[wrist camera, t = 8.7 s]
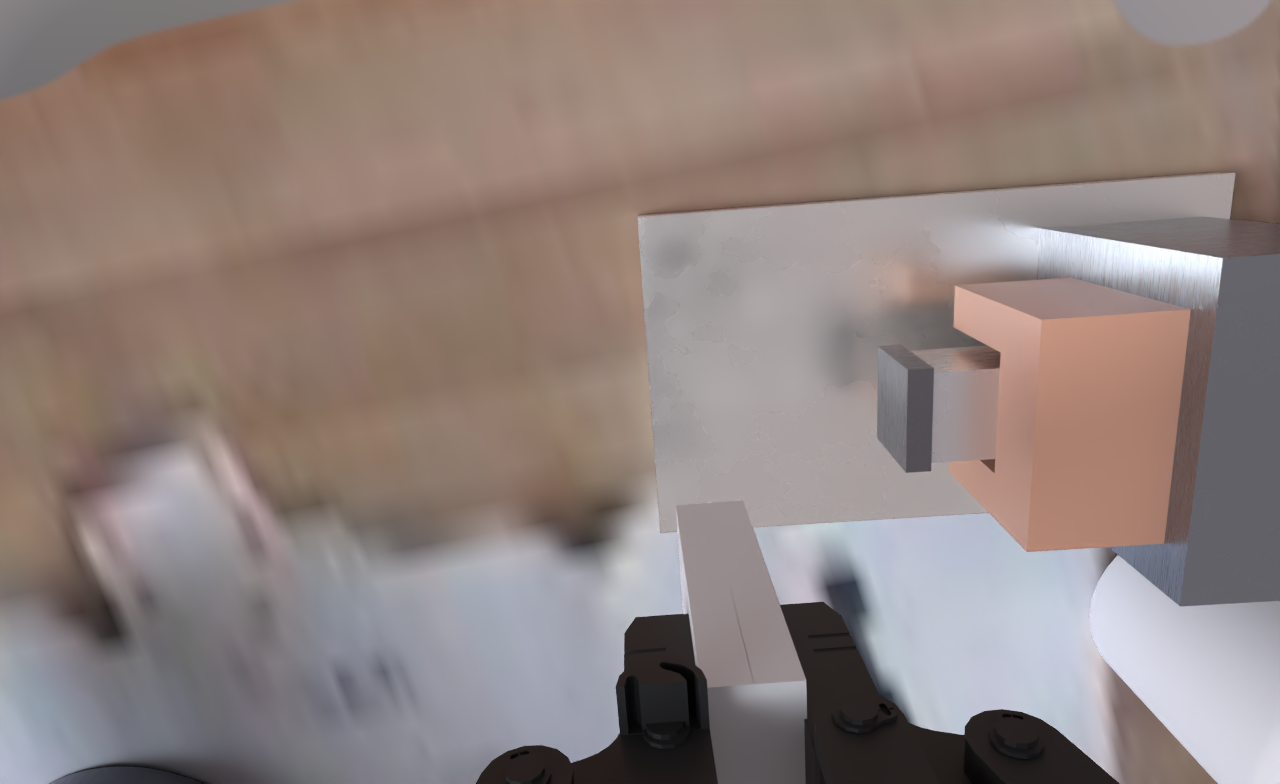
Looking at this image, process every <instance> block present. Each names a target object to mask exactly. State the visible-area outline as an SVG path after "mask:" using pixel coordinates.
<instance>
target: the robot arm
mask: <svg viewBox="0 0 1280 784" xmlns="http://www.w3.org/2000/svg"><path fill="white" fill-rule="evenodd" d="M676 517H677V532H678V547H679V562H680V578H681V593H682V608H683V614H676V615H662V616H648V617H636V618H635V619H634V621H633V622H632V624H631V625H630V626H629V628H628V629H627V631H626V632H625V647H624V651H625V654H624V668H625V669H624V672H623V673H622V674H621V675H620V676H619V679H618V682H617V685H616V694H617V705H618V716H619V726H620V734H619V735H618V737H617V739H616V740H615V741H614V742H613V743H612V744H611V745H610V746H609V747H607V748H605V749H604V750H602V751H601V752H599V753H598V754H595V755H593V756H590V757H588V758H586V759H583V760H580V761H576V762H573V763H570V761H569V759H568V757H567V756H565V755H564V754H563V753H561V752H560V751H559V750H557V749H554V748H550V747H546V746H542V745H538V746H523V747H520V748H517V749H513V750H510V751H507V752H505V753H504V754H502V755H501V756H499V757H497V758H496V759H494V760H493V761H492V762H491V763H490V764H489V765H488V766H487V767H486V769H485V770H484V771H483V772H482V773H481V775H480V777H479V779H478V781H477V782H476V784H1119V783H1118V782H1117V781H1116V780H1115V779H1114V778H1112V777H1111V776H1110V775H1109V774H1108V773H1107V772H1105V771H1104V770H1103V769H1102V768H1101V767H1100V766H1098V765H1097V764H1096V763H1095V762H1094V761H1093V760H1091V759H1090V758H1089V757H1088V756H1087V755H1086V754H1084V753H1083V752H1082V751H1081V750H1080V749H1079V748H1077V747H1076V746H1075V745H1074V744H1073V743H1072V742H1070V741H1069V740H1068V739H1067V738H1066V737H1065V736H1064V735H1062V734H1061V733H1060V732H1059V731H1058V730H1057V729H1055V728H1053V727H1052V726H1050V725H1049V724H1047V723H1046V722H1044V721H1043V720H1041V719H1039V718H1036V717H1033V716H1031V715H1028V714H1025V713H1022V712H1017V711H1010V710H1003V709H1001V710H991V711H984V712H982V713H980V714H977V715H975V716H973V717H971V719H970V720H969V722H968V723H967V725H966V726H965V735H958V734H952V733H945V732H938V731H933V730H929V729H924V728H921V727H918V726H915V725H913V724H910V723H908V722H907V720H906V718H905V716H904V714H903V713H902V712H901V710H900V709H899V708H898V707H897V706H896V704H895V703H893V702H891V701H890V700H888V699H886V698H884V697H883V696H881V695H879V693H878V691H877V689H876V687H875V685H874V683H873V681H872V679H871V677H870V675H869V673H868V671H867V669H866V667H865V664H864V662H863V660H862V658H861V656H860V654H859V652H858V650H856V646H855V644H854V642H853V640H852V637H851V636H850V635H849V631H848V629H847V627H846V625H845V623H844V621H843V619H842V617H841V615H839V614H838V613H837V612H835V611H834V610H833V609H832V608H830V607H829V606H828V605H826V604H825V603H824V602H815V603H801V604H787V605H780V604H779V601H778V598H777V596H776V593H775V590H774V587H773V584H772V581H771V578H770V576H769V573H768V570H767V567H766V564H765V561H764V558H763V556H762V553H761V550H760V547H759V544H758V541H757V539H756V536H755V533H754V530H753V527H752V524H751V521H750V519H749V516H748V513H747V510H746V507H745V504H744V502H743V500H742V501H729V502H715V503H701V504H688V505H676ZM50 784H202V783H200V782H197V781H195V780H192V779H190V778H187V777H184V776H181V775H177V774H174V773H170V772H165V771H161V770H155V769H149V768H140V767H105V768H97V769H90V770H86V771H81V772H78V773H74V774H71V775H68V776H65V777H63V778H60V779H58V780H56V781H54V782H52V783H50Z"/></svg>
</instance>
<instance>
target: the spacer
mask: <svg viewBox="0 0 1280 784" xmlns="http://www.w3.org/2000/svg"><path fill="white" fill-rule="evenodd" d="M1190 312H1191V309H1187V308H1183V307H1179V306H1176V305H1172V304H1168V303H1164V302H1161V301H1157V300H1153V299H1149V298H1146V297H1142V296H1138V295H1135V294H1131V293H1127V292H1123V291H1120V290H1116V289H1112V288H1108V287H1105V286H1101V285H1097V284H1093V283H1090V282H1086V281H1082V280H1078V279H1075V278H1071V277H1068V278H1054V279H1040V280H1026V281H1011V282H997V283H983V284H969V285H955V298H954V328H956V329H957V330H959V331H961V332H963V333H965V334H967V335H969V336H971V337H972V338H974V339H976V340H978V341H980V342H982V343H984V344H985V345H987V346H989V347H991V348H993V349H995V350H997V351H999V352H1000V353H1001V356H1000V376H999V396H998V416H997V436H996V456H995V459H987V460H971V461H956V462H949V472H950V473H951V474H952V475H953V476H954V477H955V478H956V479H957V480H958V481H959V482H960V483H961V485H962V486H963V487H964V488H965V489H966V490H967V491H968V492H969V493H970V494H971V495H972V496H973V497H974V498H975V499H976V500H977V501H978V502H979V503H980V504H981V505H982V506H983V507H984V508H985V509H986V510H987V511H988V512H989V513H990V514H991V515H992V516H993V517H994V518H995V519H996V520H997V521H998V523H999V524H1000V525H1001V526H1002V527H1003V528H1004V529H1005V530H1006V531H1007V532H1008V533H1009V534H1010V535H1011V536H1012V537H1013V538H1014V539H1015V540H1016V541H1017V542H1018V543H1019V544H1020V545H1021V546H1022V547H1023V548H1024V549H1025V550H1026V551H1027V552H1031V551H1048V550H1065V549H1082V548H1098V547H1115V546H1132V545H1149V544H1164V540H1165V531H1166V522H1167V514H1168V505H1169V496H1170V487H1171V479H1172V470H1173V461H1174V452H1175V444H1176V435H1177V426H1178V417H1179V409H1180V400H1181V391H1182V382H1183V373H1184V365H1185V356H1186V347H1187V338H1188V330H1189V321H1190Z"/></svg>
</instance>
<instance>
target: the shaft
mask: <svg viewBox="0 0 1280 784" xmlns="http://www.w3.org/2000/svg"><path fill="white" fill-rule="evenodd" d="M1000 356H1001V353H1000V352H999V351H997V350H995V349H993V348H991V347H989V346H974V347H959V348H944V349H929V350H915V351H909V350H908V349H907V348H905V347H904V346H902V345H901V344H900V345H886V346H878V385H877V439H878V440H879V441H880V442H881V443H882V445H883V446H884V447H885V448H886V449H887V451H888V452H889V453H890V454H891V455H892V457H893V458H894V459H895V460H896V461H897V463H898V464H899V465H900V466H901V467H902V469H903V470H904V471H905V472H906V473H912V472H928V471H931V463H940V462H956V461H971V460H987V459H995V456H996V436H997V416H998V396H999V376H1000Z"/></svg>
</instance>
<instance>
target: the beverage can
mask: <svg viewBox="0 0 1280 784" xmlns="http://www.w3.org/2000/svg"><path fill="white" fill-rule="evenodd" d="M1089 618H1090V629H1091V634H1092V638H1093V641H1094V643H1095V645H1096V648H1097V649H1098V651H1099V653H1100V654H1101V656H1102V657H1103V658H1104V660H1105V661H1106V662H1107V663H1108V664H1109V665H1110V667H1111V668H1112V669H1113V670H1114V671H1115V672H1116V673H1117V674H1118V675H1119V676H1120V677H1121V679H1122V680H1123V681H1124V682H1125V683H1126V684H1127V685H1128V686H1129V687H1130V688H1131V689H1132V691H1133V692H1134V693H1135V694H1136V695H1137V696H1138V697H1139V698H1140V699H1141V700H1142V701H1143V703H1144V704H1145V705H1146V706H1147V707H1148V708H1149V709H1150V710H1151V711H1152V712H1153V713H1154V715H1155V716H1156V717H1157V718H1158V719H1159V720H1160V721H1161V722H1162V723H1163V724H1164V725H1165V727H1166V728H1167V729H1168V730H1169V731H1170V732H1171V733H1172V734H1173V735H1174V736H1175V737H1176V739H1177V740H1178V741H1179V742H1180V743H1181V744H1182V745H1183V746H1184V747H1185V748H1186V749H1187V751H1188V752H1189V753H1190V754H1191V755H1192V756H1193V757H1194V758H1195V759H1196V760H1197V761H1198V763H1199V764H1200V765H1201V766H1202V767H1203V768H1204V769H1205V770H1206V771H1207V772H1208V773H1209V775H1210V776H1211V777H1212V778H1213V779H1214V780H1215V781H1216V782H1217V783H1218V784H1280V601H1269V602H1251V603H1234V604H1216V605H1199V606H1181V607H1180V606H1179V605H1178V604H1176V603H1175V602H1174V601H1173V600H1172V599H1170V598H1169V597H1168V596H1167V595H1166V594H1164V593H1163V592H1162V591H1161V590H1160V589H1158V588H1157V587H1156V586H1155V585H1154V584H1152V583H1151V582H1150V581H1149V580H1148V579H1146V578H1145V577H1144V576H1143V575H1142V574H1140V573H1139V572H1138V571H1137V570H1136V569H1134V568H1133V567H1132V566H1131V565H1130V564H1128V563H1127V562H1126V561H1125V560H1124V559H1122V558H1121V557H1120V556H1119V555H1117V556H1116V557H1115V558H1114V560H1113V561H1112V562H1111V563H1110V564H1109V566H1108V567H1107V568H1106V570H1105V571H1104V573H1103V574H1102V576H1101V578H1100V579H1099V581H1098V583H1097V585H1096V588H1095V590H1094V593H1093V596H1092V600H1091V605H1090V616H1089Z"/></svg>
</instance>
